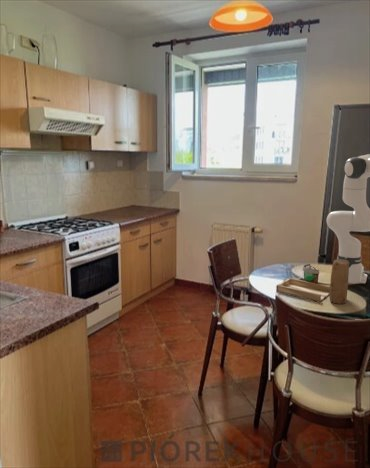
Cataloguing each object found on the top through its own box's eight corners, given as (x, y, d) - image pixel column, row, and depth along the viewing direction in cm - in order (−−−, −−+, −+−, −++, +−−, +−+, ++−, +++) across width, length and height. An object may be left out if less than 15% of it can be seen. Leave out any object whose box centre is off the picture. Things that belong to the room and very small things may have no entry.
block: (345, 306, 163) (348, 264, 159) (328, 303, 167) (330, 262, 163) (347, 298, 172) (351, 258, 168) (331, 295, 176) (334, 256, 172)
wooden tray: (289, 284, 194) (289, 277, 193) (331, 293, 179) (331, 286, 178) (276, 291, 182) (276, 285, 182) (319, 302, 168) (320, 295, 167)
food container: (298, 280, 198) (299, 263, 196) (308, 280, 199) (309, 263, 197) (307, 288, 186) (308, 270, 184) (318, 288, 187) (319, 269, 185)
